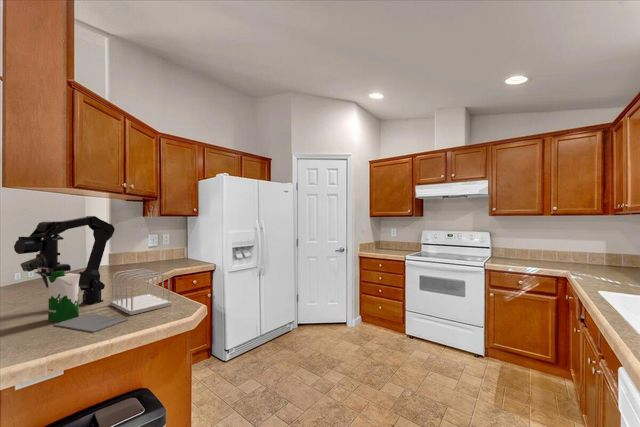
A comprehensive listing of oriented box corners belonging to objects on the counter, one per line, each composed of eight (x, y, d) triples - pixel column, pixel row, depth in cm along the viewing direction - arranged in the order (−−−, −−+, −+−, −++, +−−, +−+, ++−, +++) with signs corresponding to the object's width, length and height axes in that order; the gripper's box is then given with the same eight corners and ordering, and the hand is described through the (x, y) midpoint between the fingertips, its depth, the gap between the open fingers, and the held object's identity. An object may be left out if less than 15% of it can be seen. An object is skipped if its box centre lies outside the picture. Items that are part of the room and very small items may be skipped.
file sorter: (171, 306, 136) (172, 273, 136) (130, 316, 122) (130, 279, 122) (149, 297, 151) (149, 267, 151) (109, 305, 137) (110, 272, 137)
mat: (90, 314, 124) (90, 313, 124) (127, 320, 117) (127, 319, 117) (53, 325, 111) (53, 324, 111) (93, 332, 104) (93, 331, 104)
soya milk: (43, 320, 116) (44, 271, 117) (69, 313, 125) (69, 267, 125) (57, 323, 114) (58, 273, 114) (83, 316, 122) (83, 268, 122)
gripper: (10, 252, 118) (10, 290, 118) (39, 254, 112) (38, 294, 112) (43, 249, 129) (43, 284, 128) (71, 251, 123) (71, 287, 122)
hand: (48, 287), depth 123 cm, fingers closed
